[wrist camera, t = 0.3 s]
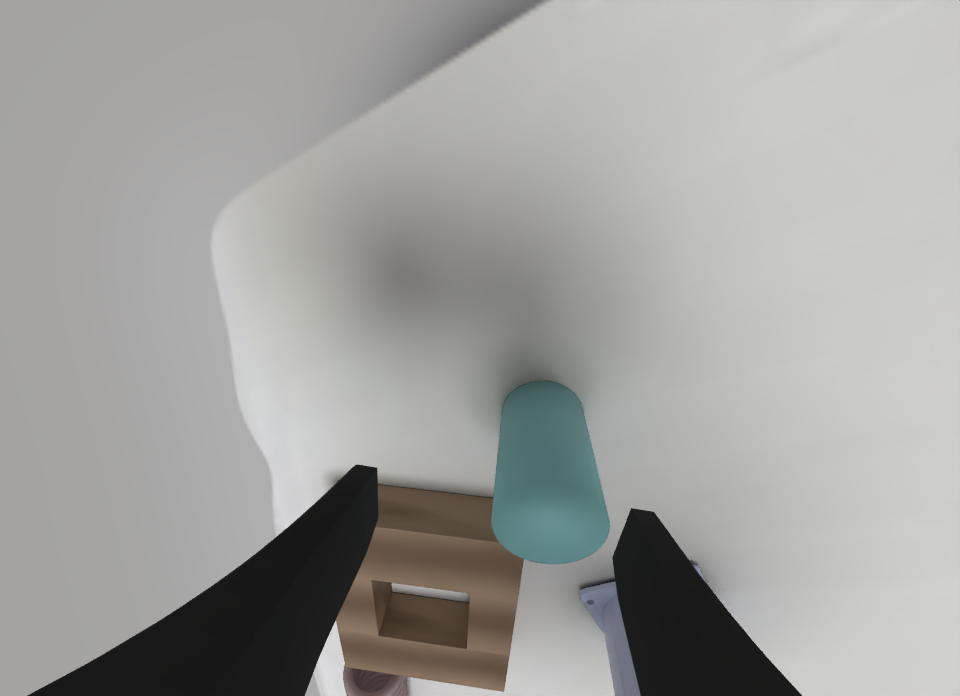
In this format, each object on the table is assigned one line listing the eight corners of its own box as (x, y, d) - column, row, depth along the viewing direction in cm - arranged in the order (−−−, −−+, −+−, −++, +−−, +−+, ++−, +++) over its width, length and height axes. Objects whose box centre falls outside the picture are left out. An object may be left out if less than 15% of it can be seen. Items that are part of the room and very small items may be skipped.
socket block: (505, 645, 30) (504, 691, 28) (361, 623, 31) (345, 666, 29) (525, 502, 23) (525, 545, 21) (338, 480, 24) (315, 519, 22)
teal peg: (596, 432, 21) (627, 548, 14) (523, 457, 22) (523, 574, 16) (563, 368, 19) (581, 466, 13) (487, 399, 21) (470, 503, 14)
